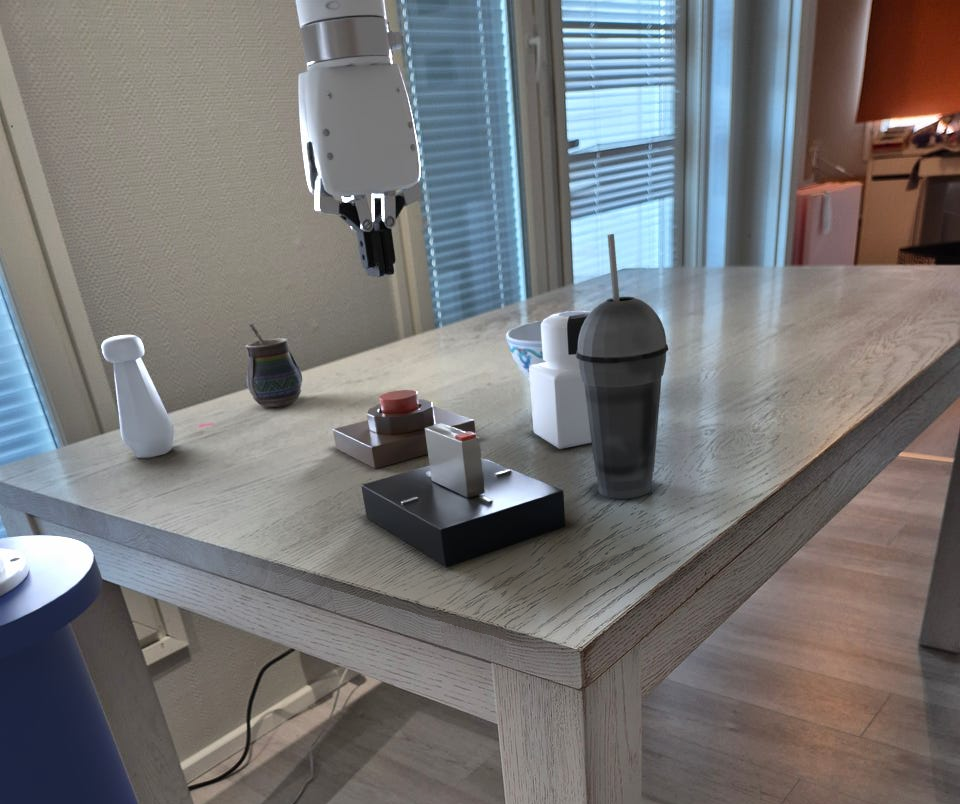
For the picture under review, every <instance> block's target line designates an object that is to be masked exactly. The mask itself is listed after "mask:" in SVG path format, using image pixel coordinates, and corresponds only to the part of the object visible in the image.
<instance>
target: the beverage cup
mask: <svg viewBox="0 0 960 804" xmlns="http://www.w3.org/2000/svg"><path fill="white" fill-rule="evenodd" d="M606 235H607V236H606V237H607V246H608V247H607V248H608V258H609V259H608V260H609V270H610V280H611V281H610V282H611V294H612V296H611V298H608V299H605V300H604V301H601V302H600V303H599V304H597V305H596V306H595V307H594V308H593V309H592V310H590V311H591V312H590V314H589V315H588V316H587V318H586V319H585V321H584V323H583V325H582V327H581V330H580V334H579V339H578V350H577V352H576V358H577V359H579V368H580V372H581V376H582V381H583V383H584V386H585V393H586V401H587V409H588V417H589V425H590V433H591V441H592V443H591V448H592V456H593V457H592V458H593V463H594V472H595V477H596V480H597V481H596V482H597V487H598V494H600V496H603V497H605V498H609V499H614V500H615V499H616V500H617V499H619V500H625V499H634V498H639V497H640V498H641V497H642V496H644V495H648V494H649V493H650V492H651V490H652V481H653V478H654V477H653V476H654V471H655V463H656V462H655V461H656V450H657V449H656V448H657V437H658V425H659V414H660V413H659V412H660V401H661V388H662V379H663V376H664V374H665V373H664V372H665V367H666V364H667V352H668V351H669V346H668V343H667V335H666V331H665V327H664V325H663V322H662V320H661V319H660V316H659V315H658V313H657V312H656V311H655V309H654V308H653V307H652V306H650V304H649V303H647V302H645V301H644V300H642V299H641V298H638V297H634V296H620V289H619V277H618V266H617V253H616V252H617V251H616V243H615V242H616V241H615V233H611V234H610V233H609V234H606Z"/></svg>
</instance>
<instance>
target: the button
mask: <svg viewBox="0 0 960 804" xmlns="http://www.w3.org/2000/svg"><path fill="white" fill-rule="evenodd" d="M378 399H379V400H378V401H379V404H380V406H381V413H382V414H398V413H406V412H410V411H414V410H416V409H418V408H419V403H418V399H419V398H418V391H416V390H413V389H399V390H393V391H388V392H385V393H383V394H381V395H380V396H379V397H378Z"/></svg>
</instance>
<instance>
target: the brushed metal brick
mask: <svg viewBox="0 0 960 804" xmlns="http://www.w3.org/2000/svg"><path fill="white" fill-rule="evenodd" d="M425 434H426V442H427V449H428V454H427V455H428V463H429V465H430V472H431V479H432V481H434V482H436V483H438V484H440V485H442V486H444V487H446V488H448V489H450V490H452V491H455V492H457V493H459V494H461V495H463V496H465V497H467V498H470V497H473V496H476V495H479V494H483V493H485V489H484V479H483V470H482V460H481V458H482V452H481V442H480V437H479V436H477V433H476V434H475V433H472V432H463V431H461V430H458V429H455V428H452V427H450V426H447V425H444V424H442V423H441V424H437V425H433V426H429V427H425Z"/></svg>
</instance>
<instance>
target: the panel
mask: <svg viewBox="0 0 960 804" xmlns="http://www.w3.org/2000/svg"><path fill="white" fill-rule="evenodd" d="M481 460H482V470H483V479H484V489H485V493H483V494H479V495H476V496H473V497H470V498H467V497H465V496H463V495H461V494H459V493H457V492H455V491H452V490H450V489H448V488H446V487H444V486H442V485H440V484H438V483H436V482H434V481H432V479H431V472H430V464H429V465H426V466H423V467H419V468H415V469H411V470H408V471H405V472H401V473H397V474H395V475H391V476H387V477H383V478H380V479H376V480H373V481H370V482H366V483H363V484H361V485H360V488H361V493H362V498H363V499H362V500H363V505H364V510H365V515H366V516H365V517H366V519H368V520H369V521H371V522H372V523H374V524H376V525H378V526H379V527H381V528H382V529H384V530H385V531H388V532H389V533H391V534H392V535H394V536H395V537H397V538H399V539H400V540H402V541H403V542H405V543H407V544H408V545H409V546H411V547H413V548H414V549H417V550H418V551H419V552H421V553H423V554H424V555H426V556H428V557H429V558H431V559H432V560H434V561H435V562H436V563H438V564H439V565H442V566H443V567H445V568H447V567H450V566H453V565H456V564H458V563H462V562H465V561H467V560H470V559H473V558H476V557H480V556H482V555H486V554H488V553H492V552H494V551H497V550H499V549H502V548H506V547H509V546H511V545H515V544H517V543H520V542H522V541H526V540H529V539H532V538H535V537H537V536H541V535H544V534H547V533H549V532H552V531H555V530H558V529H561V528H564V527H566V514H565V513H566V511H565V494H564V490H563V489H561V488H558V487H556V486H553V485H551V484H550V483H549V484H548V483H546V482H544V481H541V480H538V479H536V478H533V477H531V476H528V475H526V474H524V473H521V472H518V471H516V470H513V469H511V468H509V467H506V466H503V465H501V464H499V463H496V462H494V461H492V460H491V461H490V460H489V459H487V458H483V457H481Z"/></svg>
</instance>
